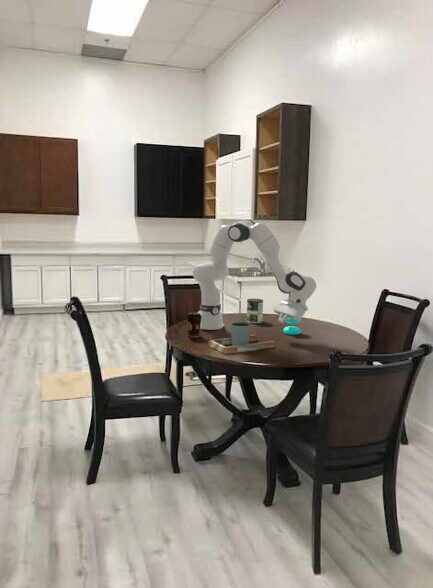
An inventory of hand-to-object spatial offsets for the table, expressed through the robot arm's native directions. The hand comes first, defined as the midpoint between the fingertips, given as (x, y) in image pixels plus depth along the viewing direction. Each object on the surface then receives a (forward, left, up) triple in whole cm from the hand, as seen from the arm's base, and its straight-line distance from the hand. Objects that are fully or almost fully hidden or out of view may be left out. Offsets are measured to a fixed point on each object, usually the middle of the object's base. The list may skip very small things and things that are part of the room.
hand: (280, 321), depth 261 cm
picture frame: (0, -25, -11) cm, 27 cm away
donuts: (-12, +18, -11) cm, 24 cm away
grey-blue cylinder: (0, -25, -11) cm, 27 cm away
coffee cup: (-31, -36, -11) cm, 49 cm away
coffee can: (-49, +17, -11) cm, 53 cm away
